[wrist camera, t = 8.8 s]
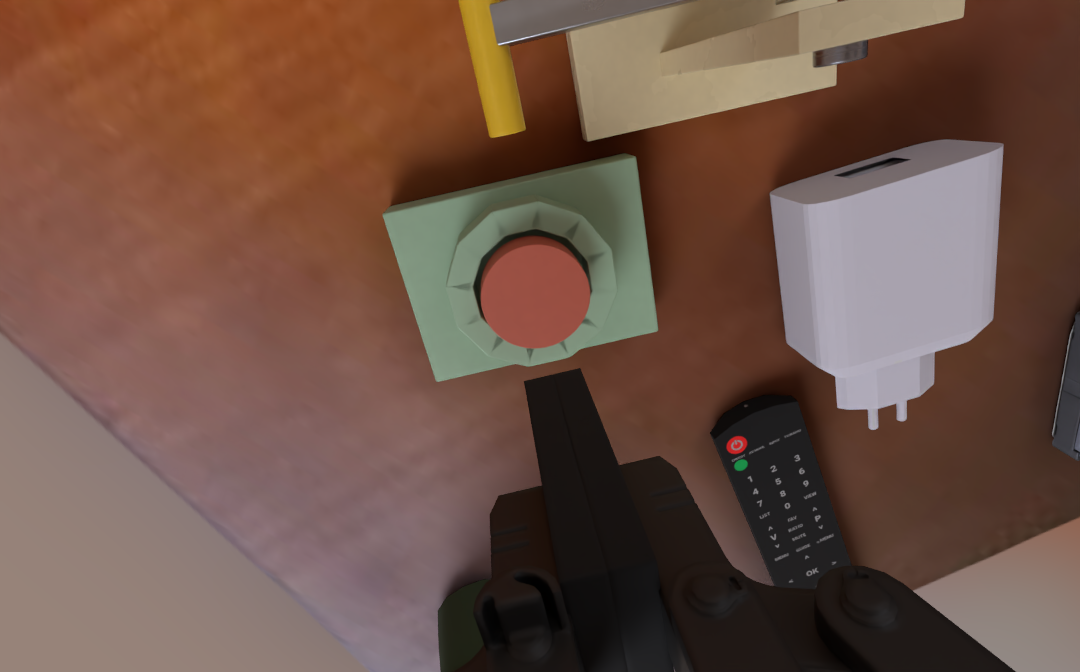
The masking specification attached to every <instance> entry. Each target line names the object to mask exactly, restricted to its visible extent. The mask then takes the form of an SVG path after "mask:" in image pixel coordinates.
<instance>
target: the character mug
mask: <svg viewBox="0 0 1080 672" xmlns="http://www.w3.org/2000/svg"><path fill="white" fill-rule="evenodd" d="M488 581H489V580H487V579H484V580H481V581H478V582H475V583H473V584H470V585H467V586H464V587H462V588H461V589H459V590H458V591H456V592H455V593H453V594H452V595H450V596H448V597H447V598H446V599H445V601H444V602H443V604H442V605H441V607H440V608H439V610H438V637H439V656H440V670H441V672H453V671H455V670H457V669H459V668H460V667H461V666H463V665H464V664H466V663H467V662H468V661H470V660H471V659H472V658H473V657H474V656H475V655H476V654H477V653H478V652H479V650H480V649H481V648H482V646H483V645H484V643H483V640H482V637H481V634H480V632H479V629H478V626H477V623H476V621H475V618H474V615H473V608H474V604H475V599H476V597H477V595H478V594H479V592H480V591H481V589H482V588H483V586H484V584H485V583H486V582H488Z"/></svg>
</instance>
